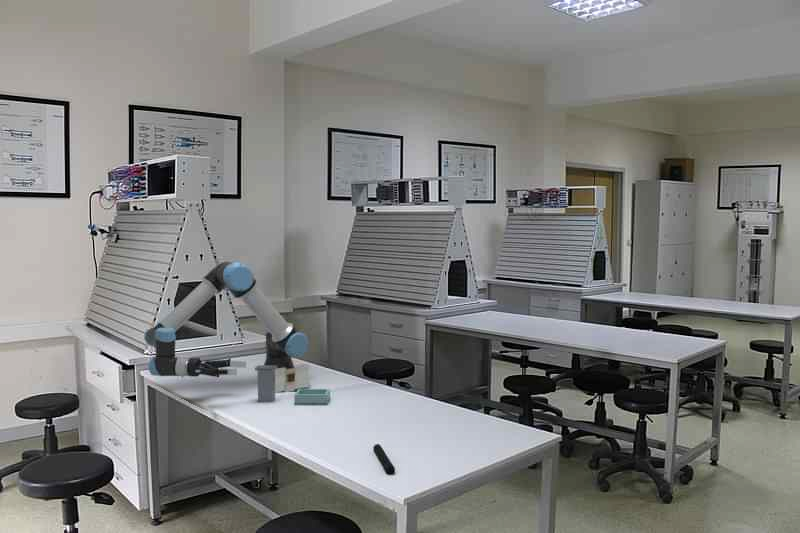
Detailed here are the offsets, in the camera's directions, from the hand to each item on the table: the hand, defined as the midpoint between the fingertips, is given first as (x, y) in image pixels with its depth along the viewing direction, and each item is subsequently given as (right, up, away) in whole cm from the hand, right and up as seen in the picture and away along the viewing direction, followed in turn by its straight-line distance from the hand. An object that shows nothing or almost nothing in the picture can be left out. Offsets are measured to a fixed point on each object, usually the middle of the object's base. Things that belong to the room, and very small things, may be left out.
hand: (241, 367), depth 248 cm
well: (+29, -13, -1) cm, 32 cm away
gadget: (+59, -18, -63) cm, 89 cm away
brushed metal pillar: (+10, -13, +1) cm, 17 cm away
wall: (+17, -13, +20) cm, 29 cm away
